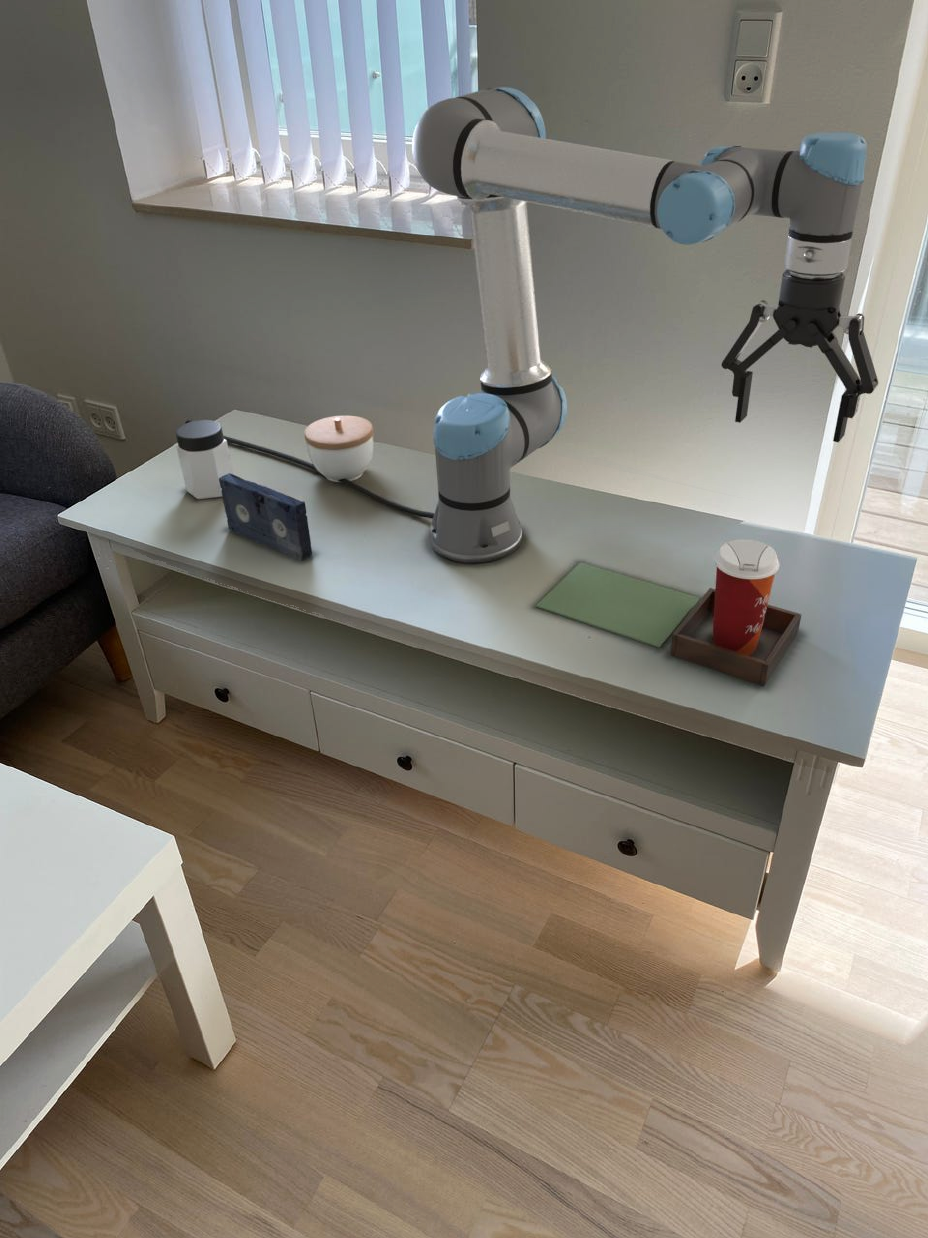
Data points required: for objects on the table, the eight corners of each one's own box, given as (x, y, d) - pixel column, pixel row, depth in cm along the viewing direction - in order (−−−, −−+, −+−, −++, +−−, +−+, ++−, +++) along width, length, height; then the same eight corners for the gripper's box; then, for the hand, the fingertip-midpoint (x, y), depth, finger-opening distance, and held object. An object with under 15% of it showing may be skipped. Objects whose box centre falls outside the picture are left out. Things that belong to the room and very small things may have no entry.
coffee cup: (766, 665, 132) (782, 572, 123) (704, 660, 133) (715, 567, 125) (763, 629, 138) (779, 538, 130) (704, 624, 140) (715, 534, 131)
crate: (669, 654, 135) (671, 634, 133) (707, 607, 144) (710, 587, 141) (764, 686, 128) (768, 665, 126) (797, 634, 137) (801, 614, 135)
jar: (236, 476, 185) (224, 417, 178) (234, 496, 178) (222, 435, 171) (188, 481, 184) (174, 422, 177) (185, 501, 177) (171, 440, 170)
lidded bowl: (318, 458, 190) (311, 405, 183) (382, 459, 188) (377, 405, 182) (303, 489, 180) (295, 433, 173) (370, 489, 178) (364, 433, 172)
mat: (535, 607, 145) (535, 605, 145) (580, 563, 155) (580, 562, 155) (659, 648, 136) (660, 646, 136) (699, 599, 145) (699, 597, 145)
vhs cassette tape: (314, 554, 160) (305, 501, 155) (300, 562, 158) (291, 508, 153) (241, 522, 170) (231, 471, 164) (228, 529, 168) (217, 478, 163)
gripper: (708, 266, 126) (692, 420, 138) (911, 291, 114) (874, 457, 126) (729, 252, 131) (712, 402, 143) (926, 275, 119) (889, 436, 131)
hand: (788, 428), depth 135 cm, fingers open, 13 cm apart
